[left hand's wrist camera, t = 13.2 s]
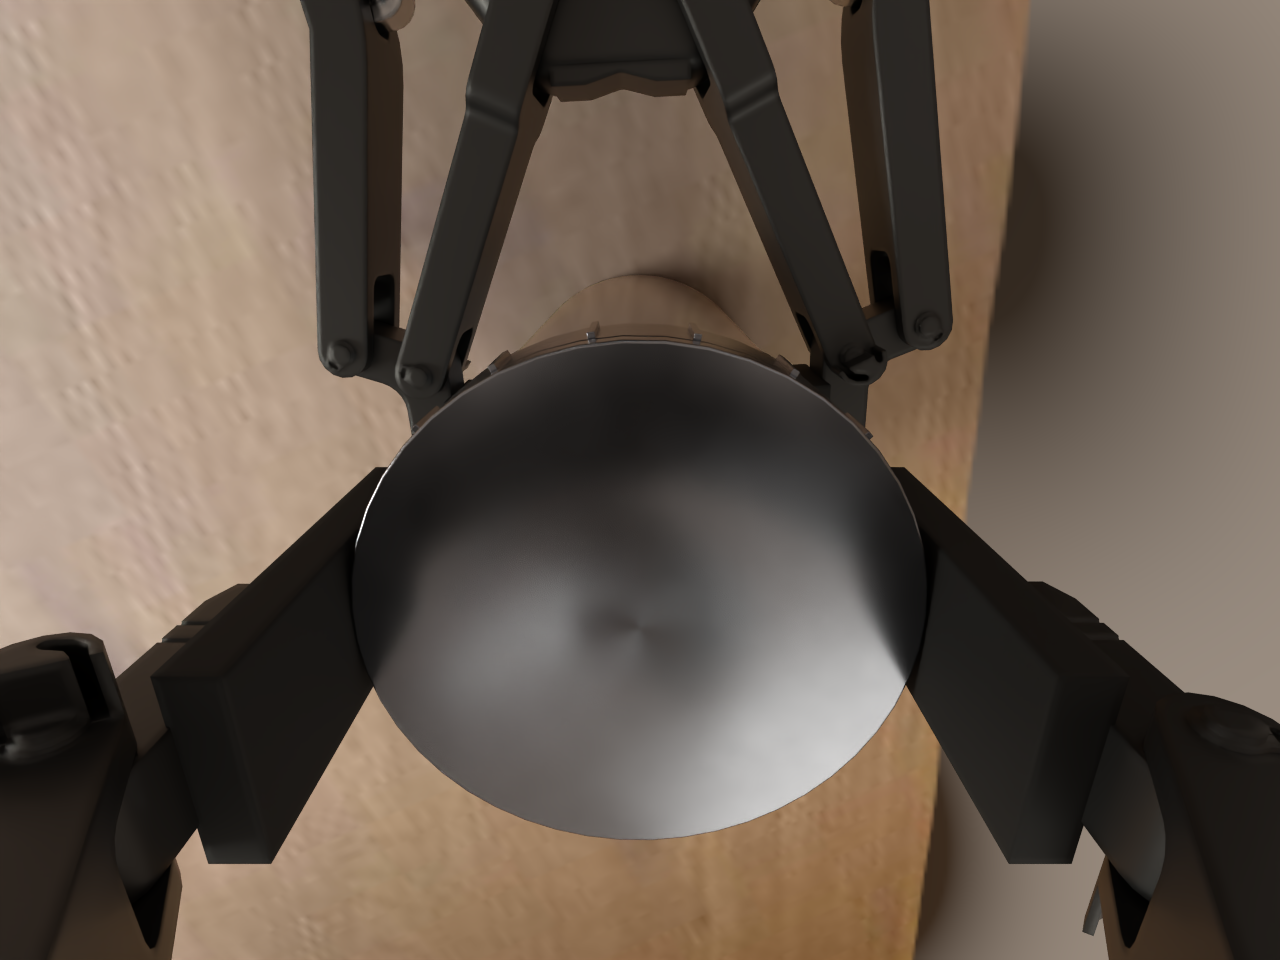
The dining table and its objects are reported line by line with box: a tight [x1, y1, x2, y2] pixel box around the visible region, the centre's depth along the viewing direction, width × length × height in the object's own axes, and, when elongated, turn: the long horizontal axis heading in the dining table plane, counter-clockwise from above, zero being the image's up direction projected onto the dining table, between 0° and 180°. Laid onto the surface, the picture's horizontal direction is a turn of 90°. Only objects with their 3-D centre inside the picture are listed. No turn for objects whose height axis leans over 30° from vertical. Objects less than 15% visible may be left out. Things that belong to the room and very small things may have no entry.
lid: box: [351, 321, 928, 840], centre depth 11 cm, size 9×9×2 cm
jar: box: [520, 275, 760, 351], centre depth 18 cm, size 8×8×15 cm
